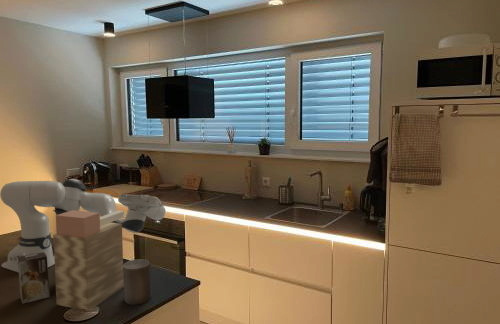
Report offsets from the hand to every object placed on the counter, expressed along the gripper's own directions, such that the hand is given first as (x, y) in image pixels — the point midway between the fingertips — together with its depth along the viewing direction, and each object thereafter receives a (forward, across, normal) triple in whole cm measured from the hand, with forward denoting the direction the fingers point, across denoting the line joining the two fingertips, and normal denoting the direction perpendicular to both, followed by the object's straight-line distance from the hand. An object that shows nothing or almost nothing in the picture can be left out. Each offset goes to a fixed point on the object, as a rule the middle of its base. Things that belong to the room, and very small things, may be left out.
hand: (131, 195), depth 171 cm
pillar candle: (+10, -22, -43) cm, 49 cm away
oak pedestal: (+12, -4, -44) cm, 46 cm away
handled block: (+21, -4, -19) cm, 29 cm away
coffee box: (+19, +15, -48) cm, 54 cm away
